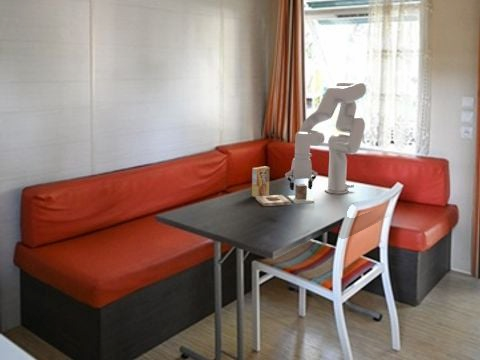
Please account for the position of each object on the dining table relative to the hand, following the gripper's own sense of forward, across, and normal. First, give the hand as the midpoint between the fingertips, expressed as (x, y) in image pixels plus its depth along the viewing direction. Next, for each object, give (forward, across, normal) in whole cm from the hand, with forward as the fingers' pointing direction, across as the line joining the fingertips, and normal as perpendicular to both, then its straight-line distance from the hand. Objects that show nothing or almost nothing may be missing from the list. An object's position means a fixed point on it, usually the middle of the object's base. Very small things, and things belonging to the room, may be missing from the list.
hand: (300, 189), depth 278 cm
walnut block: (+5, 0, 0) cm, 5 cm away
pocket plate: (+6, +15, 0) cm, 16 cm away
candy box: (+6, +18, -13) cm, 23 cm away
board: (+6, 0, 0) cm, 6 cm away
